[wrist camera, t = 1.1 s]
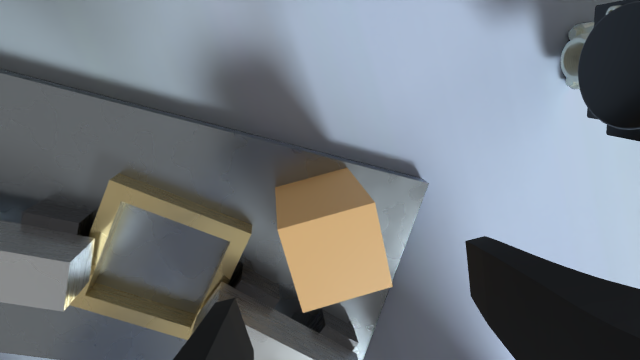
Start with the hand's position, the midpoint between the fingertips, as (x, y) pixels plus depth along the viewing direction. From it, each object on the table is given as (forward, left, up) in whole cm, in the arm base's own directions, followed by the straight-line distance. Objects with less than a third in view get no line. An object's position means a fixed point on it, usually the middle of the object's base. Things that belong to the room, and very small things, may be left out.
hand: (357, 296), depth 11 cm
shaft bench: (-5, +7, -10) cm, 14 cm away
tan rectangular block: (-1, 0, -9) cm, 9 cm away
